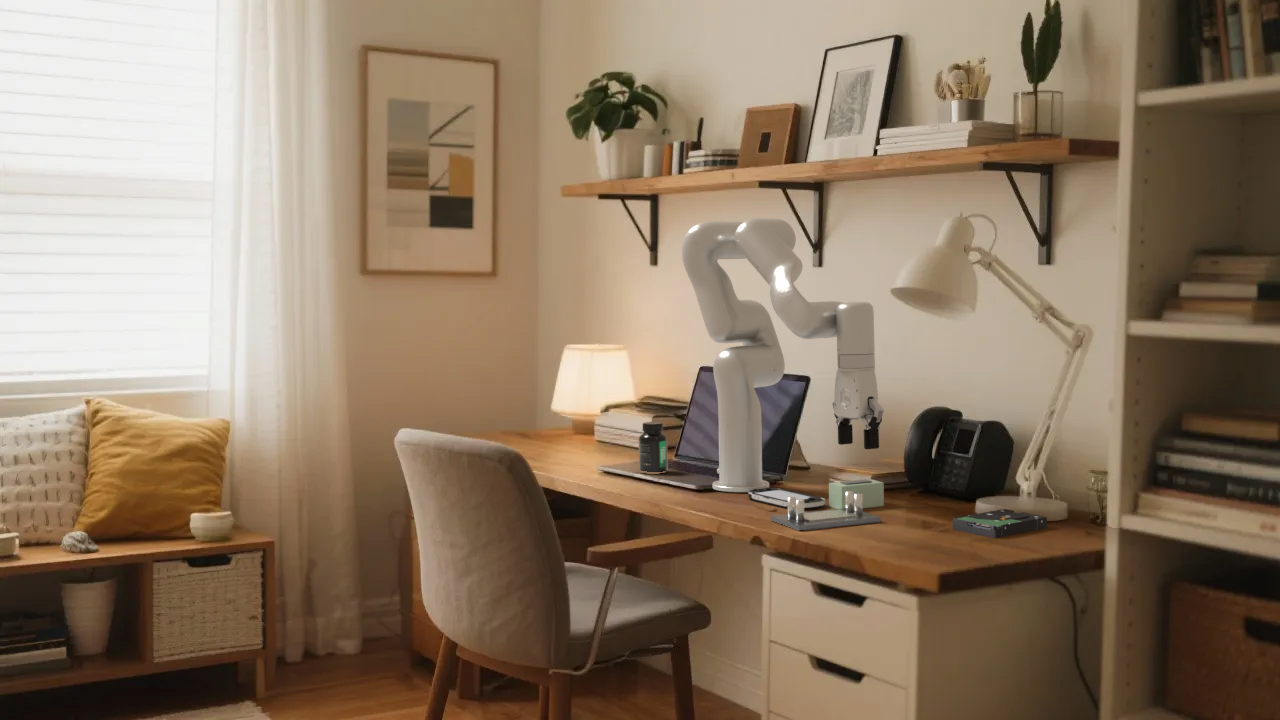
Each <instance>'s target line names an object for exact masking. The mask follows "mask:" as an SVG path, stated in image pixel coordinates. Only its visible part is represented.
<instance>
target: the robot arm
mask: <svg viewBox="0 0 1280 720" xmlns="http://www.w3.org/2000/svg"><path fill="white" fill-rule="evenodd" d="M796 238H797V237H796V233H795V230H794V228H793V227H792V226H791V224H789V222H787V221H785V220H784V219H781V218H750V219H747V220H745V221H725V220H724V221H723V220H720V221H719V220H718V221H717V220H713V221H703V222H700V223H697V224H695V225H694V226H692V227H691V228H690V229H689V230H688V231H687V232H686V234H685V236H684V239H683V242H682V246H681V247H682V248H681V259H682V263H683V266H684V269H685V272H686V275H687V276H688V279H689V281H690V283H691V285H692V287H693V290H694V294H695V296H696V299H697V300H696V301H697V303H698V307H699V309H700V313H701V316H702V320H703V322H704V325H705V329H706V331H707V334H708V336H709V337H710V338H711V340H712V341H714V342H715V343H718V344H737V343H742V345H737V346H731V347H727V348H725V349H723V350H722V351H720V352H719V353H718V354H717V356H716V357H715V359H714V361H713V364H712V371H713V379H714V383H715V387H716V388H715V390H716V395H717V406H718V408H717V412H718V413H717V414H718V416H717V417H718V468H717V469H716V473H717V474H719V478H718V479H719V480H715V481H713V482H712V489H713V490H714V491H719V492H727V493H749V491H750V490H754V489H762V488H768V487H769V488H770V482H769V481H767V480H765V479H763V450H762V448H763V444H762V443H763V442H762V440H763V438H762V436H763V435H762V433H763V432H762V431H763V429H762V425H763V424H762V423H763V422H762V406H761V403H760V400H759V397H758V395H757V392H756V388H764V387H765V388H766V387H770V386H773V385H776V384H778V383H779V382H780V381H781V379H782V378H783V377H784V373H785V367H786V366H785V365H786V364H785V363H786V362H785V359H784V358H785V357H784V354H783V350H782V347H781V344H780V341H779V338H778V336H777V332H776V329H775V326H774V324H773V320H772V318H771V315H770V313H769V311H768V310H767V309H766V307H765V306H764V305H763V304H761V302H759V301H757V300H752V299H751V300H750V299H739V298H738V296H737V294H736V291H735V289H734V286H733V283H732V280H731V278H730V276H729V275H728V273H727V272H726V271H725V269H724V268H723V267H722V266H721V265H720V264H719V263H718V260H746V259H747V261H748V262H749V264H750V265H752V267H753V268H754V269H755V270H756V271H757V273H759V274H760V276H761V277H762V278H763V280H765V282H766V283H767V284H768V286H769V295H770V299H771V300H770V301H771V302H770V303H771V305H772V307H773V310H774V312H775V314H776V316H777V317H778V318H779V319H780V320H781V321H782V323H783V324H784V325H785V326H786V327H787V328H788V330H790V331H791V333H793V334H794V335H796V336H797V337H799V338H801V339H804V340H814V339H827V338H828V339H829V338H836V348H837V349H836V351H837V353H836V354H837V359H836V361H837V370H836V374H835V378H834V379H835V380H834V381H835V383H834V395H833V396H834V397H833V398H834V401H833V402H832V408H833V412H834V414H833V415H834V417H835V419H836V421H835V424H836V425H837V444H838V445H842V446H843V445H851V444H853V442H854V441H853V440H854V439H853V437H854V436H853V433H854V432H853V423H852V424H851V422H852V420H860V419H861V422H862V424H863V425H864V428H865V429H863V447H864V449H865V450H877V449H879V448H880V438H879V437H880V432H879V430H880V429H881V423H882V421H883V414H884V411H885V410H884V408H883V406H881V404H880V403H879V396H878V395H879V394H878V382H877V376H876V359H875V357H876V356H875V355H876V354H875V353H876V351H875V319H874V318H875V316H874V315H875V312H874V307H873V305H872V304H871V303H870V302H866V301H854V302H853V301H852V302H851V301H850V302H841V301H835V300H834V301H831V300H830V301H812V302H811V301H810V302H809V301H808V300H807V299H806V298H805V297H804V296H803V295H802V294H801V292H800V291H799V290H798V288H797V287H796V285H795V282H796V281H797V280H798V279H799V277H800V276H801V274H802V271H803V267H804V266H803V263H802V260H801V259H800V258H799V256H798V255H797V254H796V253H795V252H794V251H793V250H794V248H795V246H796Z"/></svg>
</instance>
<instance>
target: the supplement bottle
mask: <svg viewBox="0 0 1280 720" xmlns="http://www.w3.org/2000/svg"><path fill="white" fill-rule="evenodd" d="M663 426H664V424H663V422H661V421H660V422H659V421H649V422H648V421H647V422H643V423H642V434H640V435H639V437H638V464H639V465H638V466H639V467H638V469H639V470H641V471H647V472H663V471H667V472H668V470H669V469H668V437H667V435H666V434H664V433H663V431H664V427H663Z"/></svg>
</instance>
